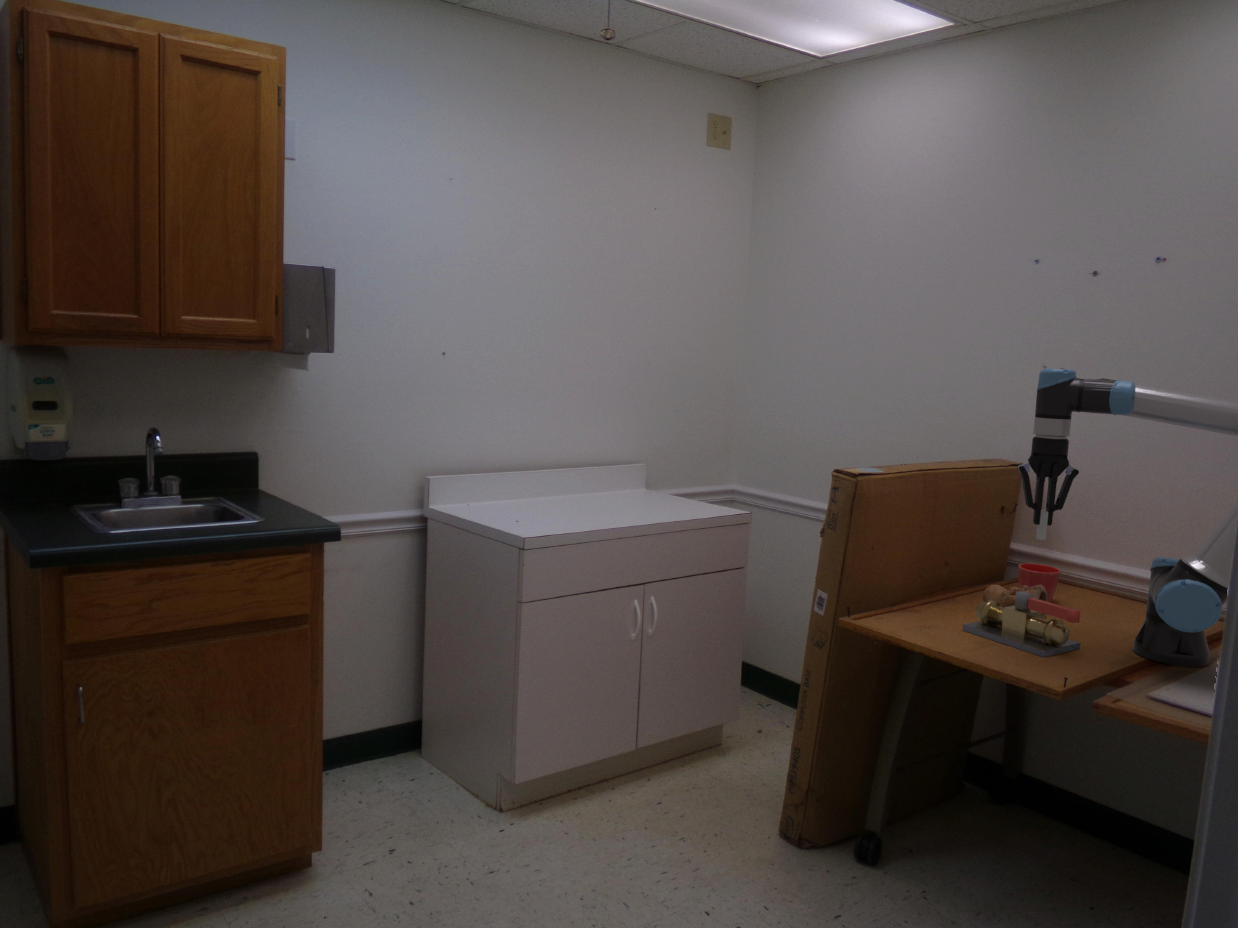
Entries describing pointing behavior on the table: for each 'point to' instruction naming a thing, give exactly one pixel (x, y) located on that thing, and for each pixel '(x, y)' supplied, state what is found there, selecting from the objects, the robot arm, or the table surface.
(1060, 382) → the robot arm
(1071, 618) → the lever
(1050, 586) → the flower pot
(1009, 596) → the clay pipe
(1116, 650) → the table surface
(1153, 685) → the table surface
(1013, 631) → the valve
